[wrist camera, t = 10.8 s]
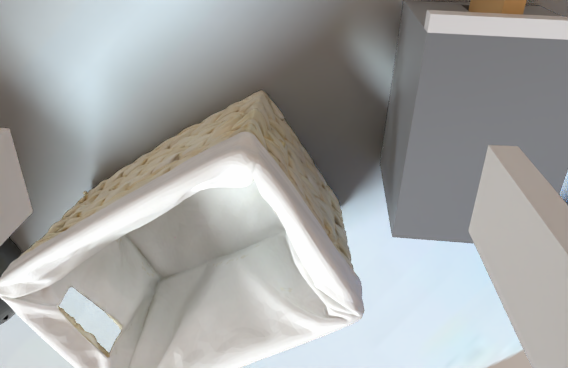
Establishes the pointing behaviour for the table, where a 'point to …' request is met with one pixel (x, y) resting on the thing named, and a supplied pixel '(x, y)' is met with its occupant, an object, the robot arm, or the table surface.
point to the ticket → (497, 6)
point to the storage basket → (197, 252)
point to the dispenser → (469, 109)
